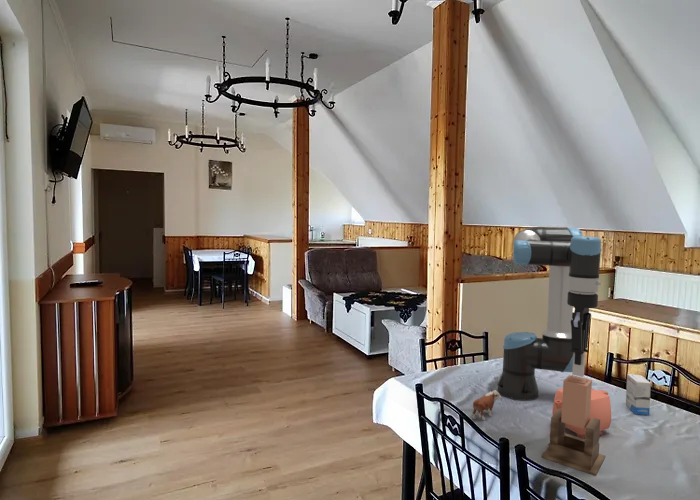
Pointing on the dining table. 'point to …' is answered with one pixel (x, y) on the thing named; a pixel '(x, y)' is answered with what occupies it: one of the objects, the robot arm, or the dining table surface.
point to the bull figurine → (485, 403)
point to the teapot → (598, 410)
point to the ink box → (638, 394)
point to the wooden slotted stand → (575, 446)
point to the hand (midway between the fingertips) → (578, 374)
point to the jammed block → (576, 401)
